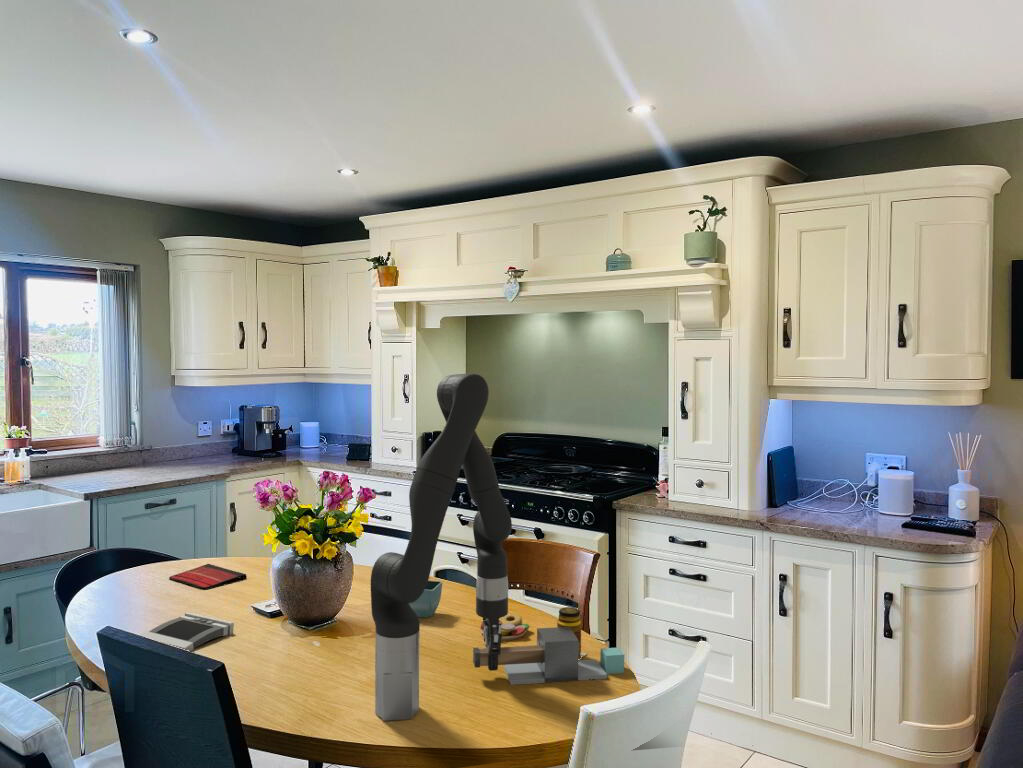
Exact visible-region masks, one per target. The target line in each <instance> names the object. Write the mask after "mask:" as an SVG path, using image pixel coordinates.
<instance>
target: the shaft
mask: <svg viewBox="0 0 1023 768" xmlns="http://www.w3.org/2000/svg"><path fill="white" fill-rule="evenodd" d="M472 649H473V650H472V652H473V653H472V654H473V655H472V657H473V658H472V661H473V662H472V663H473V665H474V666H473V667H474V668H476V669H477V668H481V667H488V653H487V651H488V648H486V647H484V648H482V647H481V648H480V647H476V646H475V647H473V648H472ZM492 649H496V648H492ZM500 652H501V653H500V655H498V666H504V665H509V664H527V663H542V662H543V648H542V647H541V645H537V644H536V645H519V646H503V647H502V646H501V649H500Z"/></svg>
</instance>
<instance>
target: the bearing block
mask: <svg viewBox="0 0 1023 768" xmlns="http://www.w3.org/2000/svg"><path fill="white" fill-rule="evenodd" d="M536 645H541V647H542V648H543V662H542V663H537V665H538V666H539V668H540V670H541V672H542V674H543V676H544V678H545V680H546V681H545V684H546V683H549V682H548V681H549V679H550V678H551V679H550V681H551V682H550V683H561V682H562V681H563V682H575V681H574V680H576V679H575V678H576V676H577V677H578V654H579V640H578V639H577V637H576V636H575V634H574V633H573V632H572V630H571V629H570V627H557V626H556V627H537V629H536ZM560 677H561V678H560ZM562 677H565V678H564V679H562ZM573 677H574V678H573ZM556 678H557V679H556ZM569 678H570V679H569ZM571 678H572V679H573V680H572V679H571ZM566 679H567V680H566ZM557 680H559V681H558V682H557ZM564 680H565V681H564ZM570 680H572V681H570ZM577 680H578V678H577ZM552 681H553V682H552ZM555 681H556V682H555ZM563 682H562V683H563Z"/></svg>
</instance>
